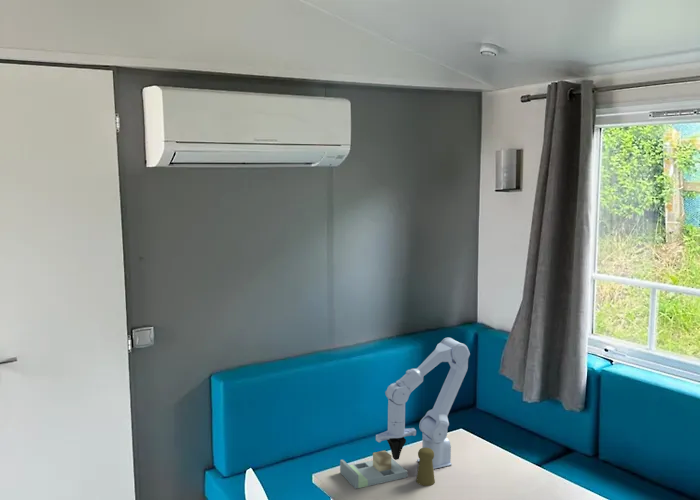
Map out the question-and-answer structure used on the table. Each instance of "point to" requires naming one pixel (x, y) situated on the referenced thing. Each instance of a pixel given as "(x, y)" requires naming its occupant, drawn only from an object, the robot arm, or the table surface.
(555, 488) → the table surface
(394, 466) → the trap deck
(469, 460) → the table surface
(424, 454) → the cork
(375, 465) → the beech block
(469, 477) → the table surface
